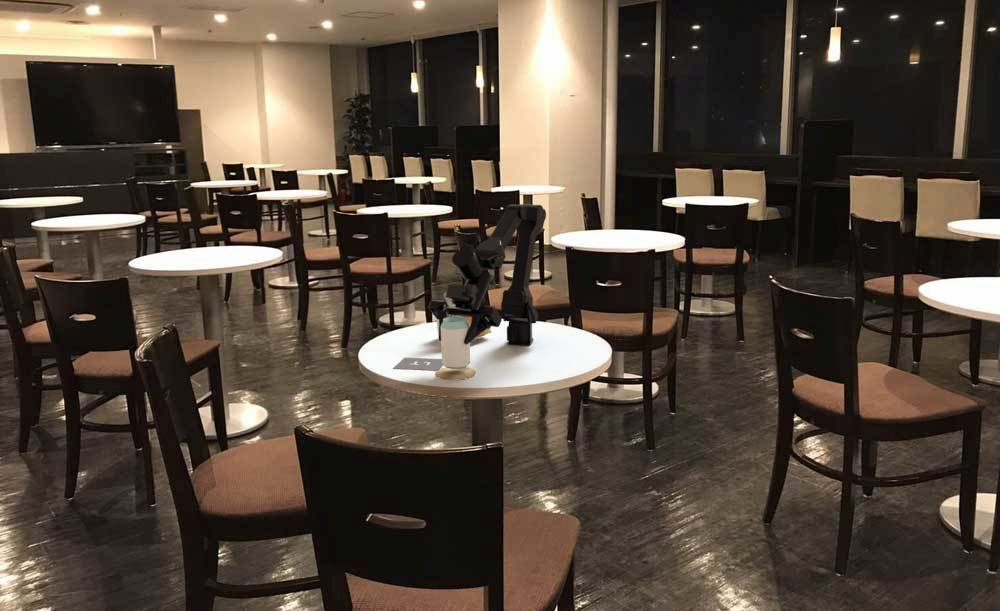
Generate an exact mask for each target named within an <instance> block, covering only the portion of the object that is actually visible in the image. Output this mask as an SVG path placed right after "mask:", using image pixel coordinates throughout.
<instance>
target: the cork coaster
mask: <svg viewBox="0 0 1000 611" xmlns="http://www.w3.org/2000/svg"><path fill="white" fill-rule="evenodd" d="M475 374H476V375H477V372H476V370H475V369H474V368H471V367H469V366H467V367H465V368H461V369H449V368H446V367H441V368H440V369H439V370H437V371H435V377H437V378H438V377H440V378H439V379H441V378H443V379H442V380H446V379H462V380H466V379H465V378H467V379H470V378H469V377H471V378H473V377H475V376H474V375H475ZM472 376H473V377H472Z"/></svg>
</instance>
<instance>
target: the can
mask: <svg viewBox="0 0 1000 611" xmlns="http://www.w3.org/2000/svg"><path fill="white" fill-rule="evenodd" d="M466 320H467V319H466V318H465V317H458V316H454V317H447V318H444V319H443V323H442V324H441V341H440V342H441V343H440V346H441V347H440V348H441V359H442V365H443V366H442V367H444V368H449V369H461V368H465V367H469V365H470V364H471V342H469V343H468V344H467V345H465V344H464V340H465V337H466V334H467V332H468V330H469V324H468V322H467V321H466Z"/></svg>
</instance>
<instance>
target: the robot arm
mask: <svg viewBox="0 0 1000 611" xmlns="http://www.w3.org/2000/svg"><path fill="white" fill-rule="evenodd" d="M546 218H547V211H546V209H545V208H544V207H543V205H541V204H530V203H528V204H526V203H525V204H523V203H521V204H508V205H507V206H505V210H504V213H503V215H502V217H501V218H500V220H499V221H498V223H497V225H496V226H495V227H494V230H493V231H492V233H491V235H490V236H489V237H488V239H486V240H484V241H483V242H481V243H479V245H478V246H477V247H476V248H475V247H474V246H473V245H470V244H465V246H464V248H460V249H459V250H457V251H456V252H455V253H454V254H453V256H452V260H451V261H452V264H453V265H454V266H455V268H456V269H457V271H458V272H459V273H460V275H461V277H463V278H464V279H466V281H465V283H464V285H459V284H458V285H457V284H447V288H446V292H445V293H446V297H447V298H451V299H452V301H451V302H452V303H453V304H455V305H456V306H455V307H449V305H448V304H447V302H446V300H438V299H432V300H430V302H429V304H428V307H427V308H428V310H429V311H430V312H431V314H432V315H433V316H434V317H435V319H436V318H437V319H439V337H438V340H439V341H440V342H441V324H442V323H443V319H444V318H447V317H452V315H458V316H465V317H472V323H471V325H470V327H469V330H468V332H467V334H466V337H465V340H464V344H465V345H467V344H468V343H469V342H470V343H471V342H472V341H474V340H475V339H474V338H475V337H476V336H478V335H479V334H480V333H482V332H483V331H485V330H486V329H490V330H491V328H492V327H494V328H499V327H500V325H501V322H502V320H503V322H508V325H507V327H506V341H507V345H510V346H511V345H512V346H514V345H517V346H519V345H520V346H530V345H532V343H533V342H534V337H533V324H537V321H538V318H539V313H538V311H537V310H536V308H535V306H534V303H533V302H534V301H533V300H534V298H533V295H532V293H531V290H530V278H531V274H532V267H533V266H532V265H533V258H534V252H535V245H536V240H537V239H536V238H537V236H538V235H539V234H540V232H541V231H542V230H543V228H544V224H545V221H546ZM515 232H517V234H518V236H517V244H516V250H515V258H514V263H513V271H512V277H511V278H512V279H511V284H510V286H509V287H508V288H507V289H504V290H503V292H502V298H501V305H500V309H501V310H500V312H501V315H500V312H498V310H497V309H496V307H495V306H494V305H493V306H492V305H485V303H486V301H487V300H486V298H485V295H486V293H487V290H488V289H489V286H493V285H495V279H494V278H493V275H492V274H491V273H490V271H499V270H500V269H501V268H502V266H503V265H504V262H505V259H506V251H505V250H506V248H507V246H508V244H509V242H510V241H511V239H512V238H513V236H514V234H515ZM483 304H484V305H483ZM473 339H474V340H473Z"/></svg>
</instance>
